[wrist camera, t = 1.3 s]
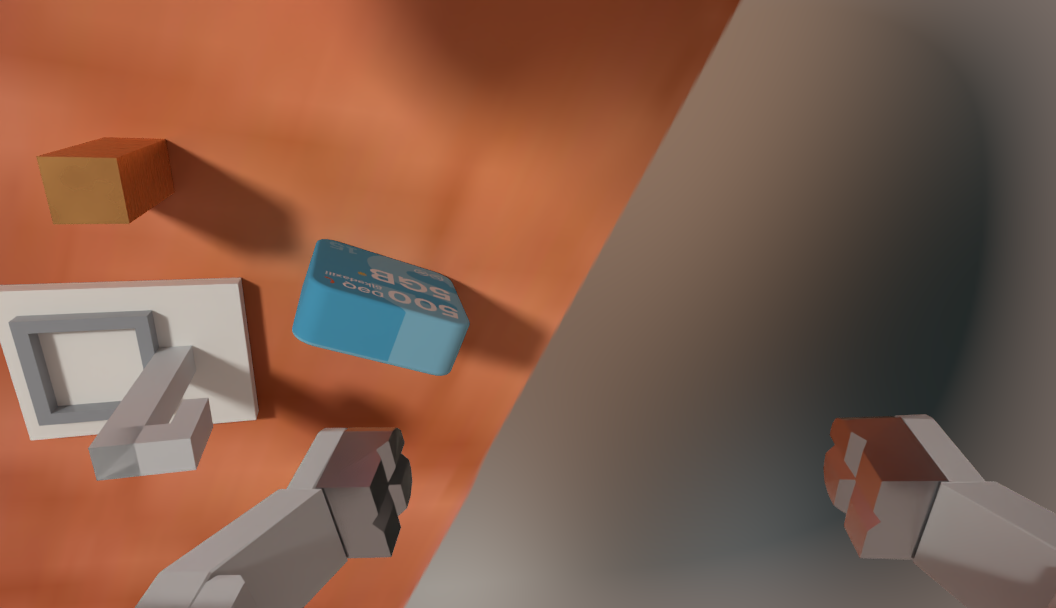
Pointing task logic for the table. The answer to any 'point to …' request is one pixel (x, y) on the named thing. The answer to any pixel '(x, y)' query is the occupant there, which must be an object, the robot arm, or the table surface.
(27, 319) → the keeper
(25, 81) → the table surface
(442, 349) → the data package
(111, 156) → the wooden square pillar
